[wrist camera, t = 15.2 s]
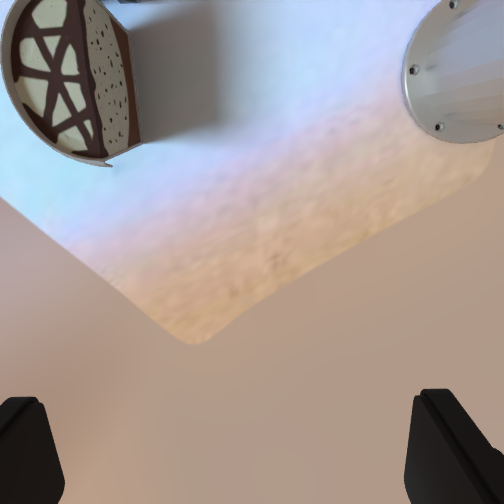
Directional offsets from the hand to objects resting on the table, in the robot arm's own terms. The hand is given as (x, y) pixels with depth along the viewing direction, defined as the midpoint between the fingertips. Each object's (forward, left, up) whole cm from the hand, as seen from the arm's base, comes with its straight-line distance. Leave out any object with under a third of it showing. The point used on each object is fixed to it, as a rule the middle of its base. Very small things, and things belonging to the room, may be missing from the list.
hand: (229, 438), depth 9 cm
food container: (+13, -12, -28) cm, 33 cm away
